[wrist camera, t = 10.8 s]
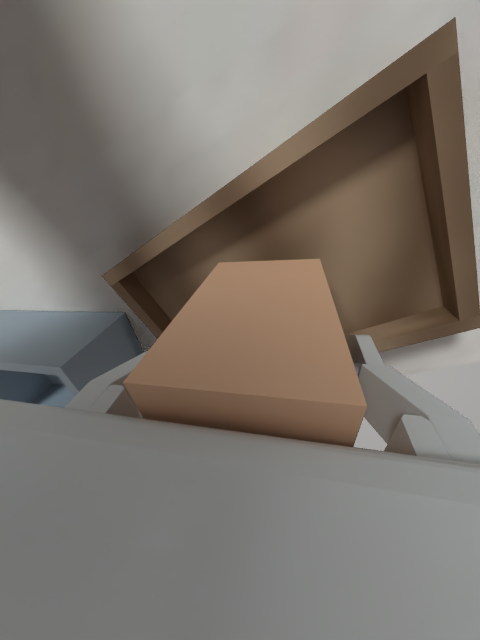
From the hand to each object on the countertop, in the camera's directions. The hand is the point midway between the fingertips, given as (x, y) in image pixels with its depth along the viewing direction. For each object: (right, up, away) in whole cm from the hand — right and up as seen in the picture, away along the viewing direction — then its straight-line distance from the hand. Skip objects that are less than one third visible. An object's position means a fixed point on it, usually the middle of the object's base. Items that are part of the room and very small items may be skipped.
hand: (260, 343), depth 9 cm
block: (+1, +2, +3) cm, 4 cm away
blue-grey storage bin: (-17, -3, +14) cm, 23 cm away
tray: (+1, +4, +5) cm, 7 cm away
